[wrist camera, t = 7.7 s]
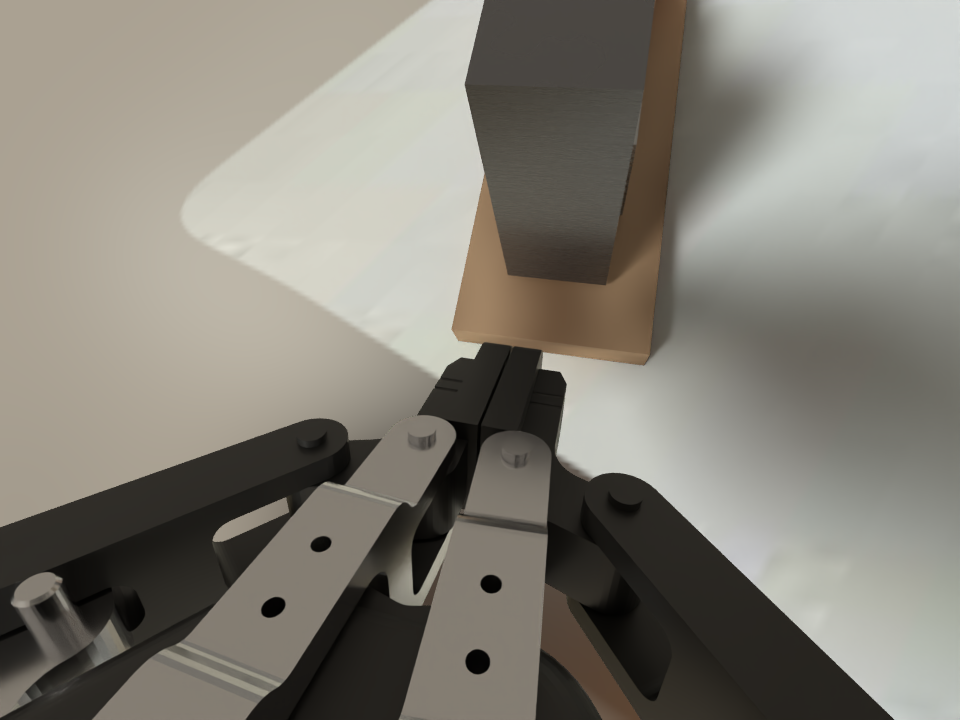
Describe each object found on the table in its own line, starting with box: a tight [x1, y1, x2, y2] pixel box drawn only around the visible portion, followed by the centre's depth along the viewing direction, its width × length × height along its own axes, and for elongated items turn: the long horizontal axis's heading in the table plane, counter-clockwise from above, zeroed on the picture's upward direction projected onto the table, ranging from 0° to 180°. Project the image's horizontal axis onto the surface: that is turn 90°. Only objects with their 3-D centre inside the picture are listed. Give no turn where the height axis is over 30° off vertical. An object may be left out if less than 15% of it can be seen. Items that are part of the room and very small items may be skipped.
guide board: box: [452, 0, 687, 365], centre depth 24 cm, size 8×20×2 cm, turn 169°
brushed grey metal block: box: [465, 0, 655, 285], centre depth 18 cm, size 4×16×10 cm, turn 169°
